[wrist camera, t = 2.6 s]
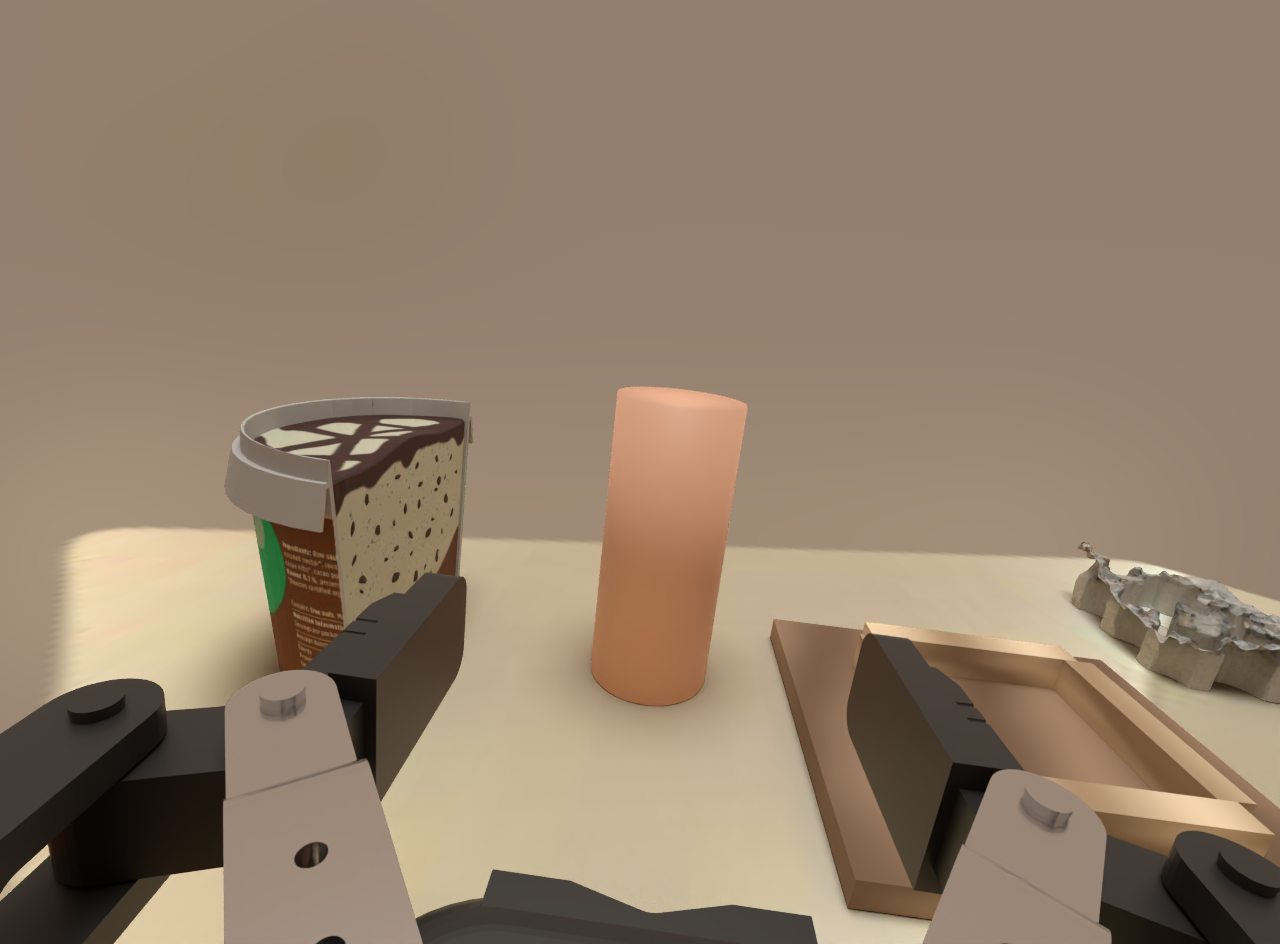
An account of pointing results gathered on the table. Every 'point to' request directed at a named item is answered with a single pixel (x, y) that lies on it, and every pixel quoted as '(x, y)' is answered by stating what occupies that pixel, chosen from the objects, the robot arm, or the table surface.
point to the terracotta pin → (664, 540)
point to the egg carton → (1185, 627)
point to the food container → (349, 506)
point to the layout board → (1013, 750)
